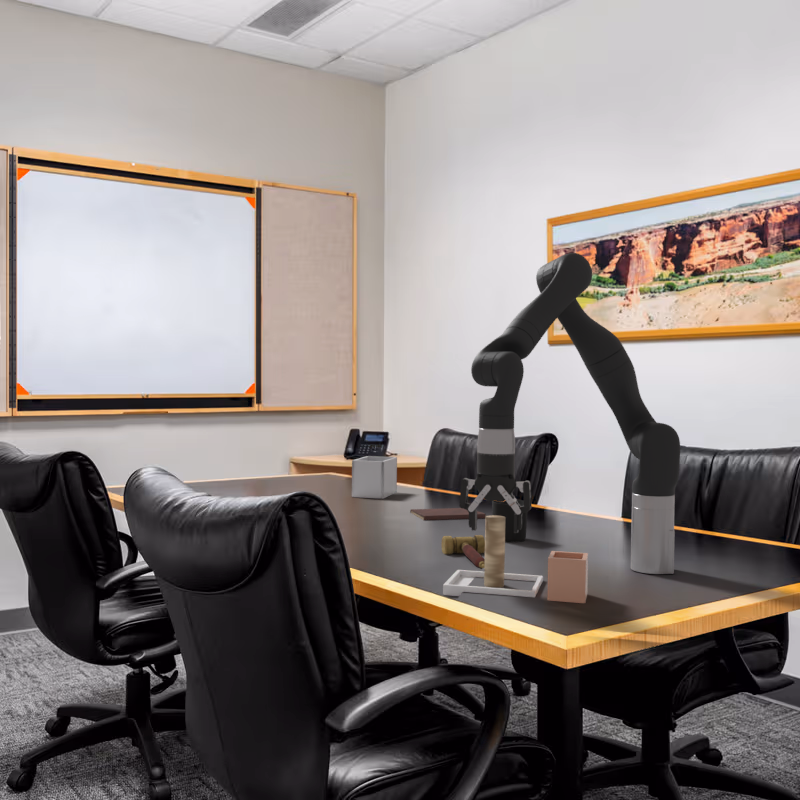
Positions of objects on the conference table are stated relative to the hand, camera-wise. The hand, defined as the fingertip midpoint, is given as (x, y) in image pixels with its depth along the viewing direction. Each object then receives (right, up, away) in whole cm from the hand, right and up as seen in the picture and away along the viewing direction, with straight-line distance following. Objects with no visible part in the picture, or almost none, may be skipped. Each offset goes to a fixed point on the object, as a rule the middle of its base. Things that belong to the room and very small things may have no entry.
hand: (495, 531), depth 174 cm
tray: (0, -12, 0) cm, 12 cm away
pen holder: (+10, -11, +56) cm, 58 cm away
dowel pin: (0, -11, 0) cm, 11 cm away
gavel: (-2, -12, +29) cm, 32 cm away
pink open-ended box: (+13, -12, -8) cm, 20 cm away
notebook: (-4, -10, +94) cm, 94 cm away
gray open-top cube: (-28, -8, +139) cm, 142 cm away
